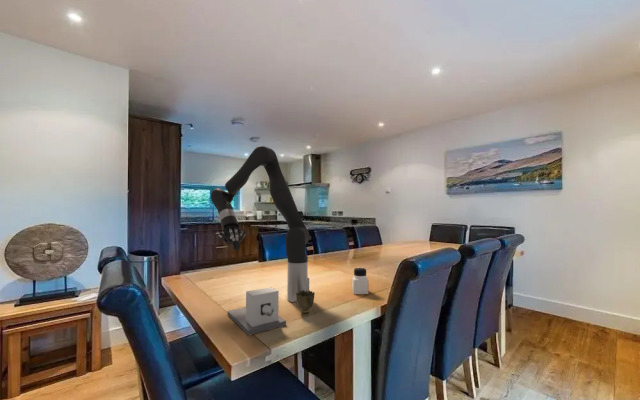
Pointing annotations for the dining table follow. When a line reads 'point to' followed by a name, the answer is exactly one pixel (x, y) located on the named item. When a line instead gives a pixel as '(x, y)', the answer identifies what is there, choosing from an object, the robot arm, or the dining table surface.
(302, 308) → the cup
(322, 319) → the dining table surface
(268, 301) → the peg hole fixture
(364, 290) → the medicine bottle
